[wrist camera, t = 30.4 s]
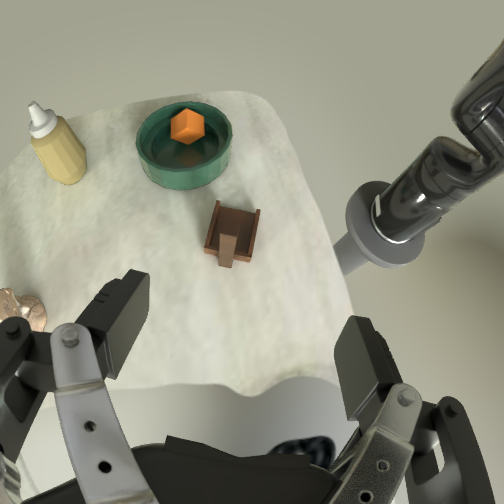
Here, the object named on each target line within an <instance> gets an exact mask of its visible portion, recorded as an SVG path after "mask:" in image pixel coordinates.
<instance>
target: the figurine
mask: <svg viewBox="0 0 504 504" xmlns="http://www.w3.org/2000/svg"><path fill="white" fill-rule="evenodd" d="M13 316H19V317H23V318H25V319H26V320H27V321H28V322H29V324H30V326H31V329H32V331H39V332H42V331H43V329H44V326H45V324H46V319H47V316H46V312H45V309H44V307H43V305H42V304H41V303H40V302H39V300H38V299H37V298H35V297H27V296H26V295H24V296H22V297H19V296H17V297H15V296H14V294H13V290H12V289H11V288H5V289H4V288H2V289H0V323H1V322H2V321H3V320H5V319H6V318H9V317H13Z"/></svg>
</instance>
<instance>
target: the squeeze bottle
mask: <svg viewBox="0 0 504 504" xmlns="http://www.w3.org/2000/svg"><path fill="white" fill-rule="evenodd" d="M29 110H30V113H31V117H32V121H31V123H30V125H29V130H30V132H31V134H32V137H31V144H32V146H33V148H34V150H35V152H36V153H37V155H38V157H39V159H40V161H41V163H42V164H43V166H44V168H45V170H46V171H47V173H48V175H49V177H50V178H52V179H54V180H56V181H58V182H61V183H63V184H65V185H71V184H74V183H76V182H77V181H79V180H80V179H81V178H82V177H83V175H84V174H85V172H86V169H87V162H86V150H85V147H84V146H83V144H82V143H81V142H80V140H79V139H78V138H77V136H76V135H75V133H74V132H73V131H72V129H71V128H70V126H69V125H68V124H67V122H66V121H65V119H64V118H63V117H61V116H56V115H55V113H54V111H53V110H51V109H48V110H43V109H42V108H41V107H40V106H39V105H38V104H37V103H36V102H35V101H32V102H31V103H30V104H29Z"/></svg>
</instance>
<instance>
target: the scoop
mask: <svg viewBox="0 0 504 504" xmlns="http://www.w3.org/2000/svg"><path fill="white" fill-rule="evenodd" d="M260 211H261V210H260V209H256V213H250V212H246V211H241V210H236V209H232V208H227V207H222V206H220V201H218V200H216V204H215V208H214V211H213V215H212V219H211V223H210V226H209V230H208V234H207V238H206V242H205V246H204V252H205V253H207V254H212V255H216V256H219V266H222V267H227V268H231V267H232V262H233V259H235V260H240V261H245V262H250V260H251V257H252V252H253V247H254V242H255V236H256V231H257V226H258V221H259V216H260Z"/></svg>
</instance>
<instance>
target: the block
mask: <svg viewBox="0 0 504 504" xmlns="http://www.w3.org/2000/svg"><path fill="white" fill-rule="evenodd" d="M203 136H205V132H204V116H202V115H200V114H198V113H195V112H193V111H191V110H189V109H187V108H186V109H185V110H183V111H182V112H181V113H179V114H178V115H176V116H175V117H173V118H172V119H171V139H174V140H177V141H179V142H182V143H185V144H188V145H189V144H191V143H193V142H194V141H196V140H198V139H199V138H201V137H203Z"/></svg>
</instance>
